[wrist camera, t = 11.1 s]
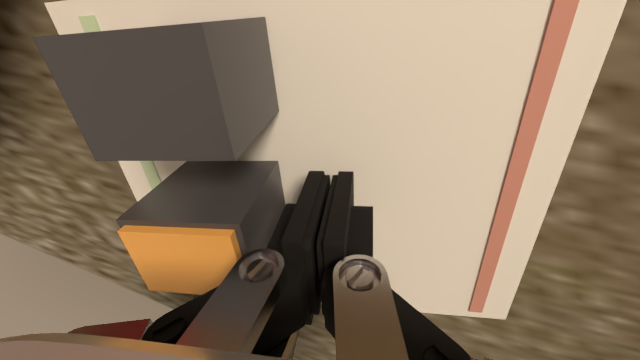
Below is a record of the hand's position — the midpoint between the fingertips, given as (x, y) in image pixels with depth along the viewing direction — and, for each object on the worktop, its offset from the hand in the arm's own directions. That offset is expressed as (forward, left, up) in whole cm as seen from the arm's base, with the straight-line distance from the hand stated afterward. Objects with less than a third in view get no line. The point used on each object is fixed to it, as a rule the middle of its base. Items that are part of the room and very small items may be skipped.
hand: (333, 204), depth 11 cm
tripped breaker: (+4, 0, -1) cm, 4 cm away
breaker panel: (+1, 0, -3) cm, 3 cm away
